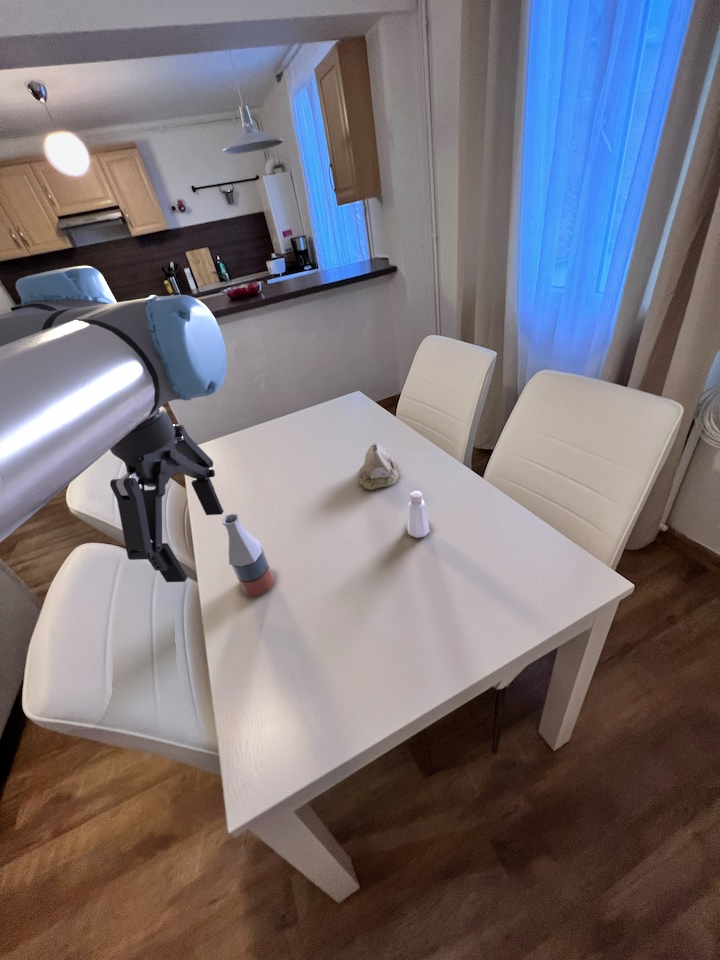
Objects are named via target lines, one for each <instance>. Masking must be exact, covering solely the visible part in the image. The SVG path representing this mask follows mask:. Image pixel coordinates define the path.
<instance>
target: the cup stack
mask: <svg viewBox="0 0 720 960" xmlns="http://www.w3.org/2000/svg"><path fill="white" fill-rule="evenodd" d="M261 548H262V553H261V554H260V556H259V557H258V559H257V560H256V561H255V562H254V563H251V564H248V565H245V566H242V567H240V566H235V565H231V567H232V569H233V572H234V574H235V576H236V578H237V580H238V582H239V584H240V587H241V589H242V590H243V593H244V594H245V595H246V596H249V597H260V596H262V595H264V594H266V593H267V592H268V591H270V589H271V588H273V586H274V583H275V577H274V575H273V571H272V570H271V566H270V564H269V562H268V559H267V557H266V554H265V551H264V549H263V547H262V546H261Z"/></svg>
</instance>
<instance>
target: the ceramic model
mask: <svg viewBox="0 0 720 960" xmlns="http://www.w3.org/2000/svg"><path fill="white" fill-rule="evenodd" d="M359 473H360V476H359V484H360V486H361V487H363V488H364V489H366V490H371V491H373V490H376V489H380V488H386V487H390V486H392V485H394V484H395V483H396V482H397V480H398V478H399V474H398V469H397V467H396V465H395V463H394V461H393V459H392V457H391V455H390V454H389V452H388V450H387V449H386V448H385V447H384V446H383V445H382V444H380V443H378V442H374V443H373V444H372V445H370V446H369V448H368V449H367V451H366V453H365V456H364V464H363V465H362V466H361V468H360V469H359Z"/></svg>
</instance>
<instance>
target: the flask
mask: <svg viewBox="0 0 720 960" xmlns="http://www.w3.org/2000/svg"><path fill="white" fill-rule="evenodd" d="M222 525H223V526H225V529H226V530H227V535H228V564H229V565H231V566H232V565H235V566H240V567H242V566H245V565H248V564H251V563H254V562H255V561H256V560H257V559H258V557H259V556H260V554H261V553H262V549H263V547H262V542H261V541H259V540H258V539H257V538H255V537H254V536H253V535H252V534H251V533H250V532H249V531H247V529H245V528H244V527H243V525H242V523H241V522H240V518H239V514H237V513H231V514H227V515H225V516H224V517H223V519H222ZM261 547H262V548H261Z"/></svg>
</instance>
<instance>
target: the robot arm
mask: <svg viewBox="0 0 720 960" xmlns="http://www.w3.org/2000/svg"><path fill="white" fill-rule="evenodd" d="M15 290H16V291H17V293H18V295H19V297H20V299H21V301H20V303H21V305H22V306H21V307H19V308H17V309H15V310H11V311H8V312H5V313H1V314H0V543H1V542H3V541H4V540H5V539H6V538H7V537H9V536H10V535H11V534H12V533H13V532H15V530H17V529H18V528H19V527H20V526H22V525H23V524H24V523H25V522H26V521H28V520H29V519H30V518H31V517H32V516H34V514H35V513H37V512H38V511H39V510H40V509H42V507H44V506H45V505H46V504H47V503H49V502H50V501H51V500H52V499H53V498H55V496H57V495H58V494H59V493H60V492H61V491H63V490H64V489H65V488H67V486H68V485H69V484H71V483H72V482H73V481H75V480H76V479H77V478H78V477H79V476H80V475H81V474H83V473H84V472H85V471H86V470H87V469H88V468H90V467H91V466H92V465H93V464H95V462H97V461H98V460H99V459H100V458H102V456H104V455H105V454H107V452H108V451H110V453H111V454H112V455H113V456H115V457H116V458H118V459H119V460H121V461H122V462H123V463H124V465H125V469H126V474H124V475H123V476H122V477H121V478H112V479H111V480H110V482H109V486H110V489H111V490H112V492H113V494H114V497H115V498H116V502H117V507H118V512H119V518H120V524H121V529H122V534H123V539H124V544H125V550H126V556H127V558H128V560H130V561H139V560H140V561H143V560H148V562H149V563H150V565H151V567H152V568H153V569H154V571H156V572H159V573H160V574H161V576H162V577H163V579H164V581H165V582H166V583H186V581H187V579H188V576H187V574H186V572H185V570H184V569H183V567H182V565H181V563H180V562H179V560H178V558H177V557H176V554H174V552H173V549H172V548H171V546H170V545H169V542H168V543H167V542H163V496H165V495H166V486H167V484H168V483H169V482H170V480H171V477H173V476H174V475H175V474H176V473H180V474H182V475H184V476H187V477H190V478H191V479H193V480H192V481H191V482H190V483H191V486H192V488H193V490H194V492H195V495H196V497H197V499H198V501H199V503H200V505H201V507H202V510H203V512H204V513H205V516H216V515H217V516H218V515H223V513H224V508H223V506H222V504H221V502H220V500H219V498H218V494H217V493H216V490H215V487H214V484H213V482H212V480H211V478H214V477H215V476H216V472H215V470H214V469H212V468H213V466H214V461H213V460H212V459H211V457H210V456H209V455H208V454H207V453H206V452H205V451H204V449H202V448H201V447H200V446H199V445H198V444H197V443H196V442H195V441H194V440H193V439H192V438H191V437H190V436H189V434H188V432H187V430H186V429H185V427H184V425H183V424H173V422H172V420H171V418H170V416H169V414H168V411H167V409H166V407H164V405H165V404H167V403H169V402H172V401H178V400H179V401H180V400H181V401H192V400H193V399H197V398H204V397H207V396H211V395H213V394H215V393H216V392H217V391H219V389H220V388H221V387H222V385H223V383H224V381H225V378H226V375H227V367H228V362H227V361H228V358H227V350H226V344H225V341H224V339H223V334H222V332H221V329H220V326H219V324H218V321H217V319H216V318H215V316H214V315H213V313H212V311H210V309H209V308H208V307H207V306H206V305H205V304H204V302H202V301H201V300H199V299H197V298H196V297H193V296H191V295H187V294H177V295H176V294H175V295H161V296H160V295H159V296H158V295H156V294H151V295H148V297H146V298H138V299H132V300H124V301H118V302H117V300H116V299H115V296H114V295H113V293H112V291H111V289H110V287H109V285H108V284H107V281H106V280H105V278H104V276H103V274H102V273H101V272H100V271H99V270H98V269H97V268H95V267H93V266H90V265H78V266H72V267H71V266H70V267H64V268H60V269H53V270H49V271H45V272H39V273H35V274H30V275H27V276H24V277H20V278H19V279H17V280H16V282H15ZM210 468H211V469H210ZM145 486H146V487H148V488H154V489H145Z"/></svg>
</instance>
